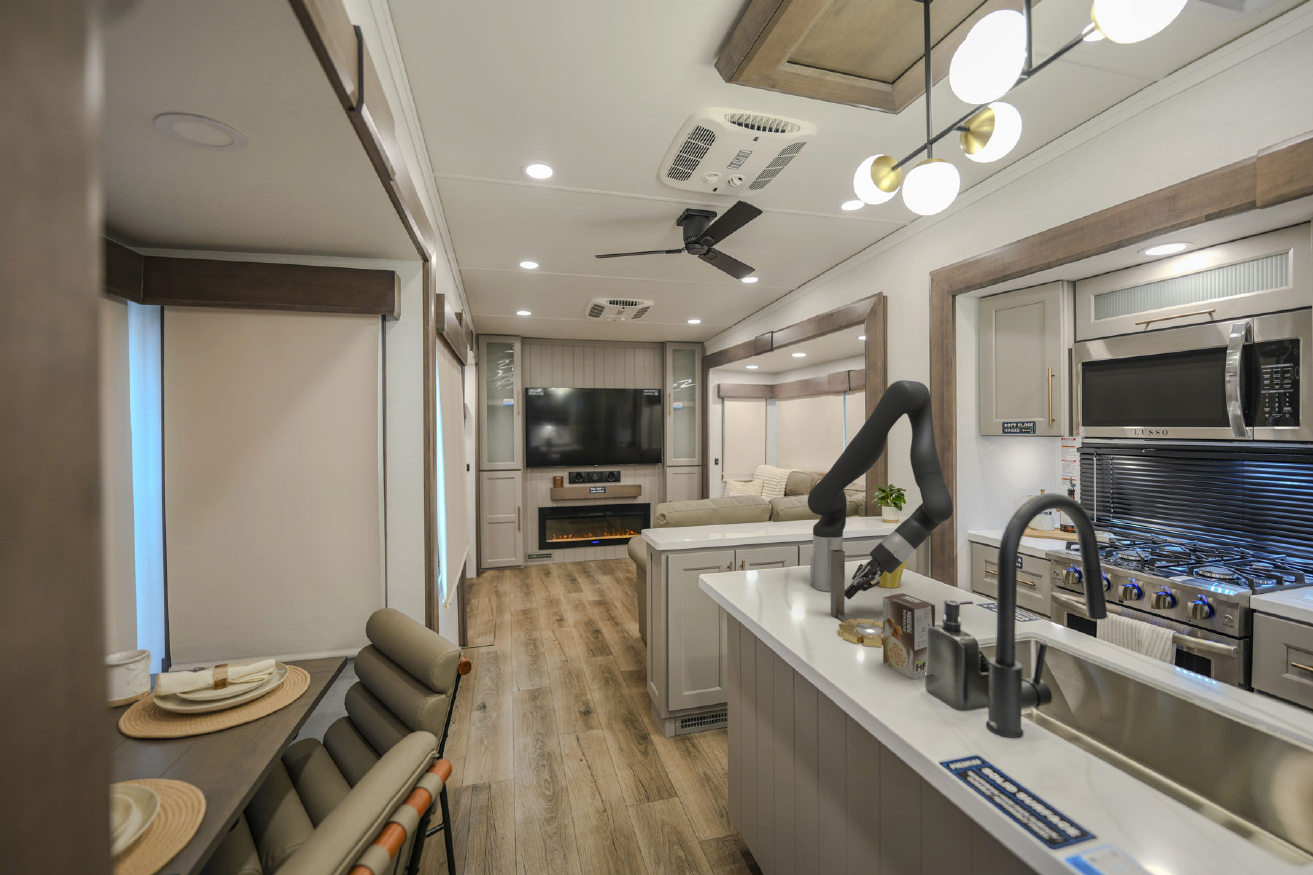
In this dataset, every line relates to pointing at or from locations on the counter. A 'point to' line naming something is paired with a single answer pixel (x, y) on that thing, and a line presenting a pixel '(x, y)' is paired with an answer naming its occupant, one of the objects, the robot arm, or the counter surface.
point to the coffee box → (906, 633)
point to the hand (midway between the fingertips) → (845, 596)
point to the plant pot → (892, 577)
